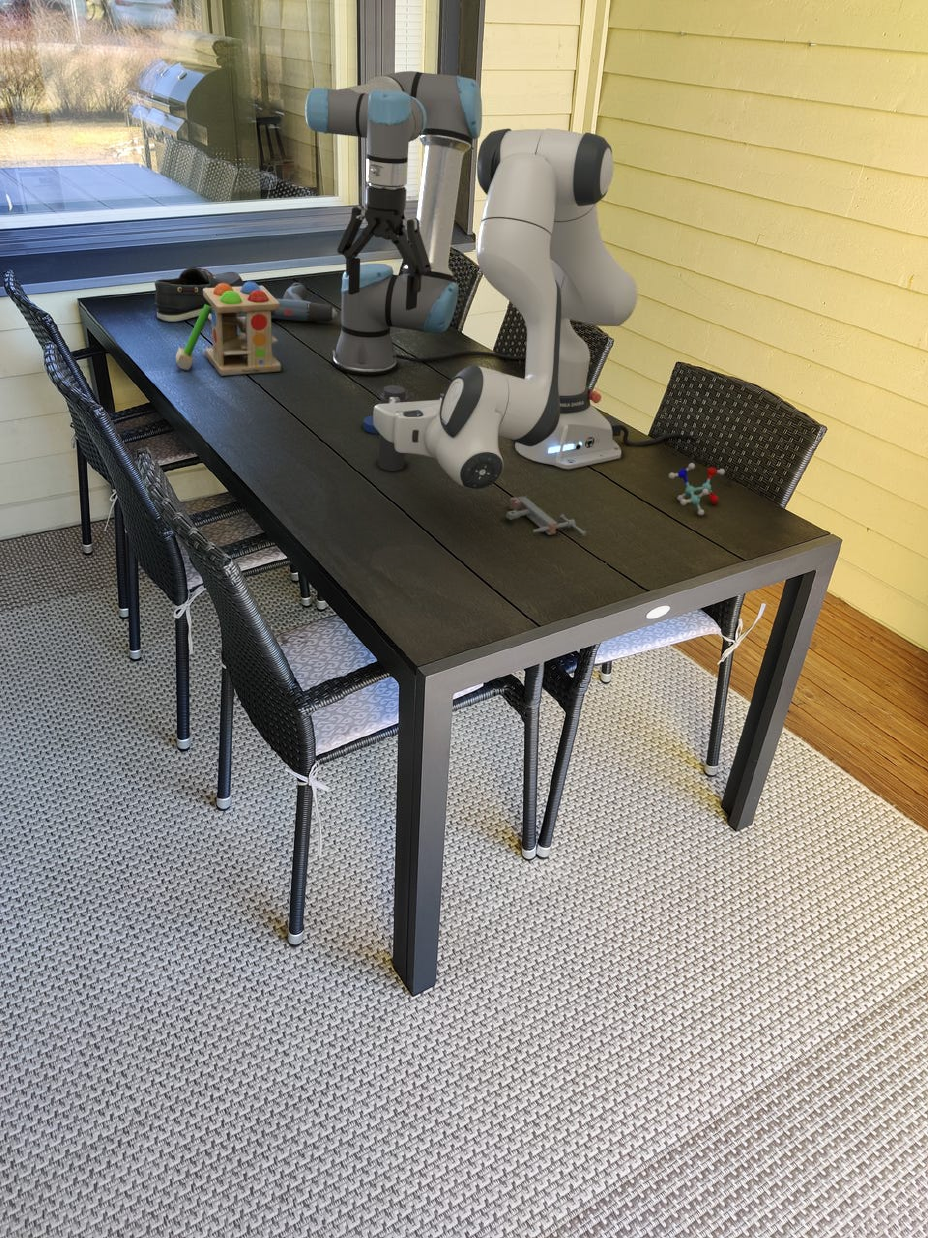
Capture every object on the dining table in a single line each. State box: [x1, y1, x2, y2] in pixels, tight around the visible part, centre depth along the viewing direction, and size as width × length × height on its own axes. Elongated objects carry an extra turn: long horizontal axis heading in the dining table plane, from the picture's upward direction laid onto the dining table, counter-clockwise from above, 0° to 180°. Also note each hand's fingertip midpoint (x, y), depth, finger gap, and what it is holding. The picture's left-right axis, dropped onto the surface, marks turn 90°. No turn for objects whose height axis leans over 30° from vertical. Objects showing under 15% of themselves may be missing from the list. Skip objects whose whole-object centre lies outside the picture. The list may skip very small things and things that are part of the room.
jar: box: [377, 384, 409, 472], centre depth 189 cm, size 5×5×16 cm
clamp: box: [506, 496, 587, 537], centre depth 177 cm, size 15×2×10 cm
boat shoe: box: [153, 265, 244, 323], centre depth 262 cm, size 13×33×10 cm, turn 147°
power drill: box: [271, 282, 338, 322], centre depth 265 cm, size 5×19×20 cm
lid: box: [363, 415, 379, 435], centre depth 207 cm, size 6×6×2 cm
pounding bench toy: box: [174, 281, 282, 377], centre depth 225 cm, size 23×14×18 cm, turn 116°
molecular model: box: [668, 462, 726, 517], centre depth 188 cm, size 12×10×10 cm
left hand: (382, 300), depth 193 cm, fingers open, 13 cm apart
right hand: (418, 399), depth 173 cm, fingers open, 8 cm apart
